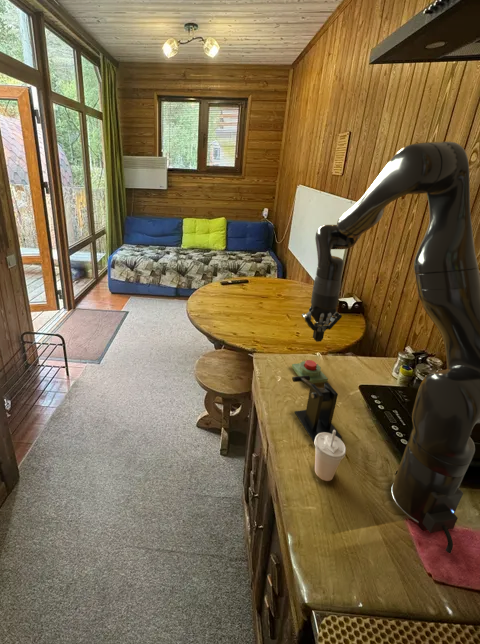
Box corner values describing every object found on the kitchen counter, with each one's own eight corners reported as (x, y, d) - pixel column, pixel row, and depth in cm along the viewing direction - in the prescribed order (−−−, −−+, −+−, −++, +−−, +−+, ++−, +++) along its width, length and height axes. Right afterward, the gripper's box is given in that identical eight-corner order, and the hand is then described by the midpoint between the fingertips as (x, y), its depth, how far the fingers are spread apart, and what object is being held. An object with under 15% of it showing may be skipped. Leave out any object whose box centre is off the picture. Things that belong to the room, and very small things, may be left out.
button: (318, 370, 101) (318, 366, 101) (308, 371, 100) (308, 367, 100) (312, 363, 104) (313, 359, 104) (302, 364, 104) (303, 360, 103)
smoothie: (311, 487, 68) (322, 439, 63) (305, 460, 74) (314, 415, 69) (342, 491, 67) (354, 443, 62) (333, 464, 73) (344, 418, 68)
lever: (292, 382, 91) (292, 374, 91) (307, 380, 92) (307, 373, 92) (317, 402, 78) (317, 393, 78) (335, 400, 79) (335, 391, 79)
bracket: (293, 414, 88) (300, 377, 83) (319, 411, 89) (327, 375, 85) (312, 444, 78) (320, 404, 74) (340, 440, 80) (350, 401, 75)
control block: (327, 384, 100) (329, 374, 99) (304, 386, 99) (306, 376, 97) (312, 367, 109) (314, 357, 107) (291, 369, 107) (292, 359, 106)
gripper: (312, 296, 88) (304, 348, 94) (353, 294, 91) (343, 345, 96) (299, 286, 95) (292, 335, 101) (338, 285, 98) (329, 333, 103)
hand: (317, 340), depth 98 cm, fingers closed
